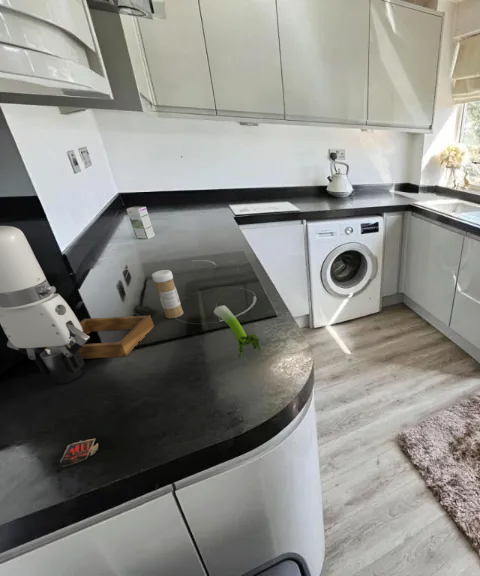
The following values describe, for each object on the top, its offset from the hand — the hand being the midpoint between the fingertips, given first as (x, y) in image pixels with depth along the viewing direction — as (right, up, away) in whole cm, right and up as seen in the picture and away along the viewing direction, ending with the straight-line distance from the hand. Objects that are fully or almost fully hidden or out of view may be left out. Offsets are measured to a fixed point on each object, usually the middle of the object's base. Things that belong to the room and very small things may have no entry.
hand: (64, 368), depth 68 cm
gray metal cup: (0, -2, +1) cm, 2 cm away
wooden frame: (-2, +3, +13) cm, 13 cm away
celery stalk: (+29, +4, +16) cm, 33 cm away
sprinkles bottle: (+7, +9, +25) cm, 27 cm away
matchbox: (+17, -10, -15) cm, 25 cm away
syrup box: (-49, +42, +89) cm, 110 cm away
